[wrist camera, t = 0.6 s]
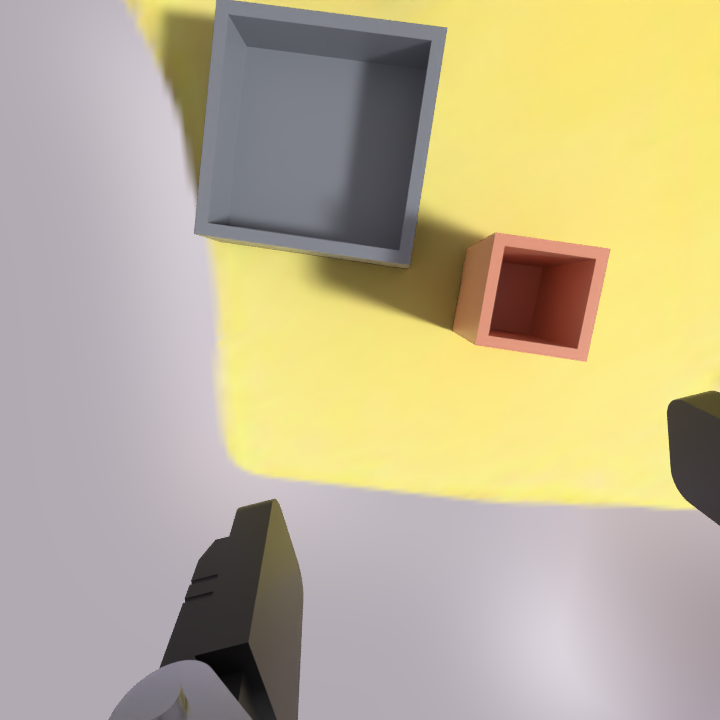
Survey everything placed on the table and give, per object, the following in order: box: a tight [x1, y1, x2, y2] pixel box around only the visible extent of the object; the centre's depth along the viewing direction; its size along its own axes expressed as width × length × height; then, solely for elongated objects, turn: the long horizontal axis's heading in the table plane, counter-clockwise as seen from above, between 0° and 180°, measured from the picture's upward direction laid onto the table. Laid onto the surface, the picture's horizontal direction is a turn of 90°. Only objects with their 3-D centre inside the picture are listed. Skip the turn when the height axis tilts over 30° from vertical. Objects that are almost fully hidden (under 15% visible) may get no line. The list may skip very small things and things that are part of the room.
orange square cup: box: [452, 233, 610, 362], centre depth 32 cm, size 6×6×10 cm
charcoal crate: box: [194, 0, 447, 269], centre depth 33 cm, size 14×14×5 cm
